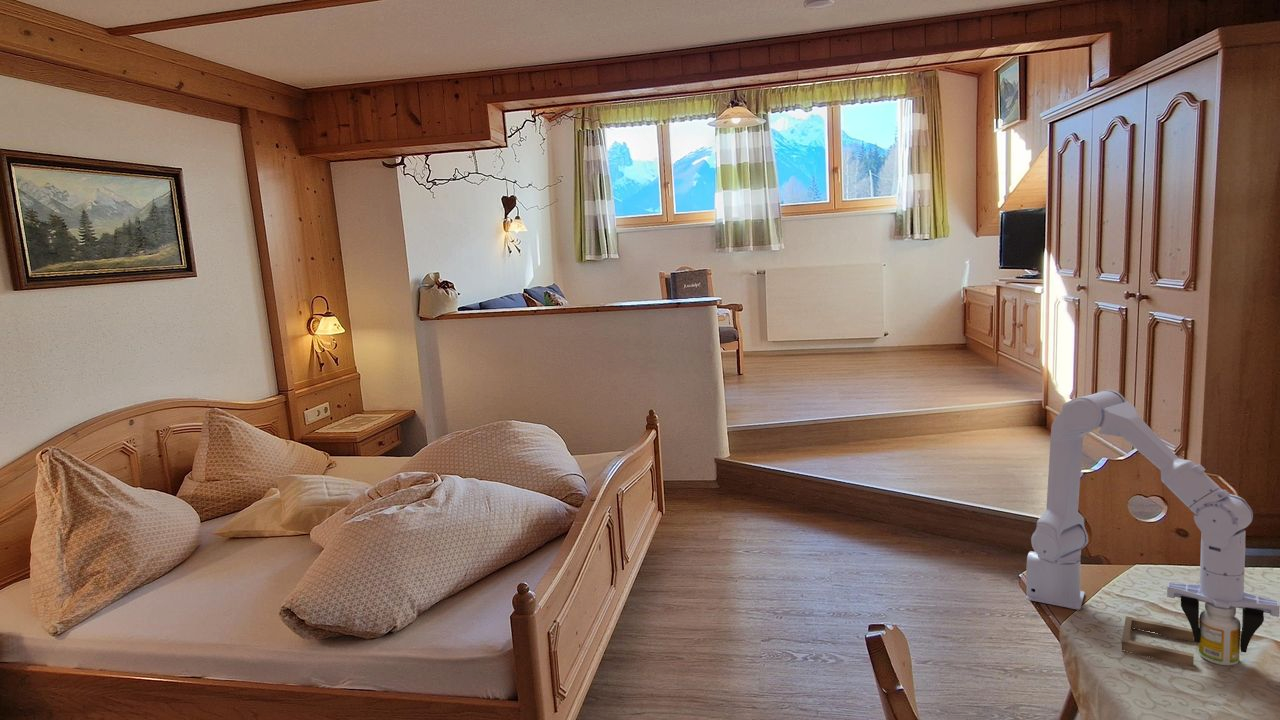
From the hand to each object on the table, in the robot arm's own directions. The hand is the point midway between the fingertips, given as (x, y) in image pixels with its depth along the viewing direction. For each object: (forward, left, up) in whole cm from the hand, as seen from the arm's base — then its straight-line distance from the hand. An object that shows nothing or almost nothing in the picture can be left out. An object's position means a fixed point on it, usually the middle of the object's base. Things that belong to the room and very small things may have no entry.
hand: (1219, 644), depth 121 cm
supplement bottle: (0, 0, -3) cm, 3 cm away
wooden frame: (-8, 0, -2) cm, 8 cm away
